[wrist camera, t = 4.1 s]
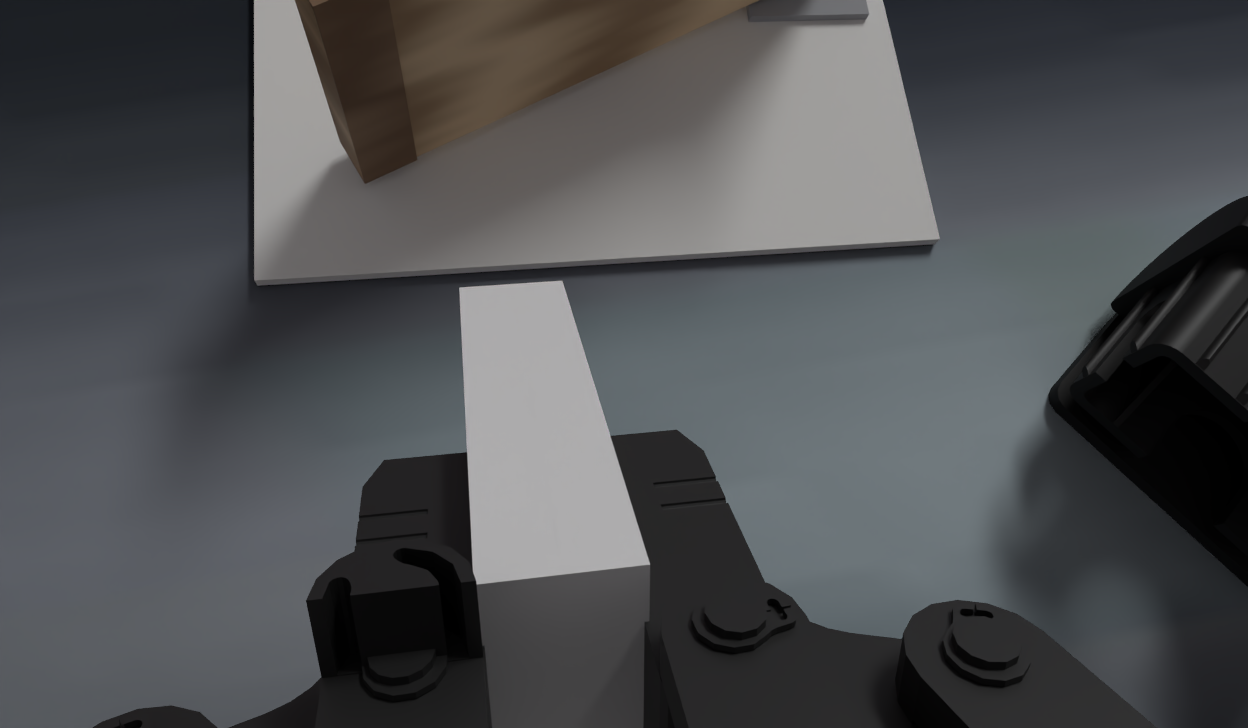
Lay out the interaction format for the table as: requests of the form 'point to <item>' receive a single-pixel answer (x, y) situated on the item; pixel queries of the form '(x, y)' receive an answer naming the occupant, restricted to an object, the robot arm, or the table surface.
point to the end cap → (1177, 384)
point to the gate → (469, 61)
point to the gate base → (609, 158)
